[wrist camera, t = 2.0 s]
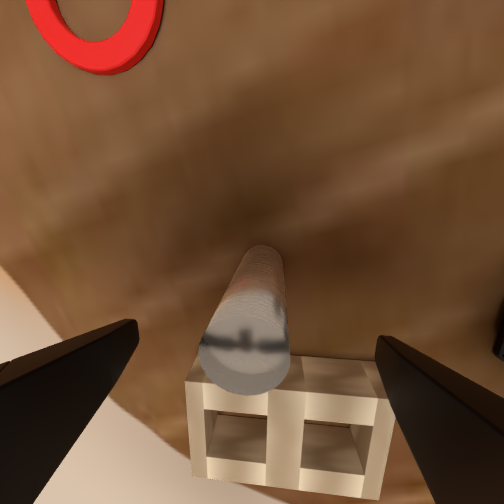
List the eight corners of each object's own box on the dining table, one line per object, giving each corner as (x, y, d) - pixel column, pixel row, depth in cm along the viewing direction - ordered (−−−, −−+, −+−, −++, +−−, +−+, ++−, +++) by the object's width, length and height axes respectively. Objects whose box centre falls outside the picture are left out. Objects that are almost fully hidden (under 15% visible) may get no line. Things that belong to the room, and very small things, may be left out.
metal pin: (283, 245, 17) (292, 319, 7) (282, 284, 18) (288, 399, 8) (241, 244, 17) (196, 313, 7) (241, 282, 18) (200, 391, 8)
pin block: (376, 361, 18) (398, 400, 15) (361, 449, 21) (378, 500, 17) (200, 348, 20) (184, 381, 16) (205, 432, 22) (192, 476, 19)
